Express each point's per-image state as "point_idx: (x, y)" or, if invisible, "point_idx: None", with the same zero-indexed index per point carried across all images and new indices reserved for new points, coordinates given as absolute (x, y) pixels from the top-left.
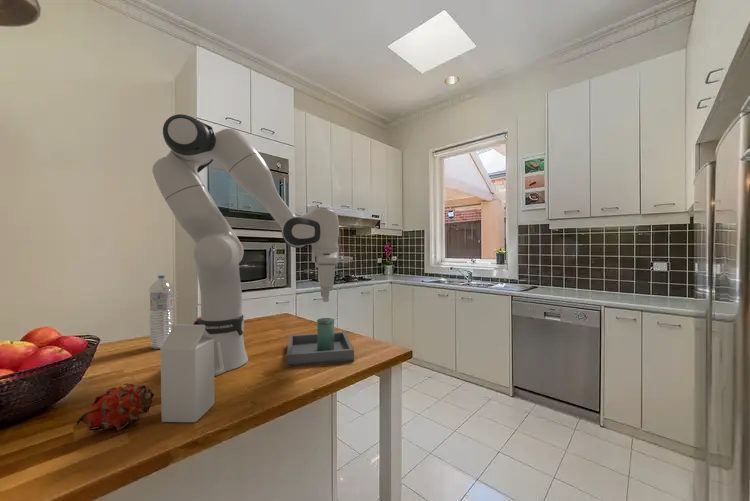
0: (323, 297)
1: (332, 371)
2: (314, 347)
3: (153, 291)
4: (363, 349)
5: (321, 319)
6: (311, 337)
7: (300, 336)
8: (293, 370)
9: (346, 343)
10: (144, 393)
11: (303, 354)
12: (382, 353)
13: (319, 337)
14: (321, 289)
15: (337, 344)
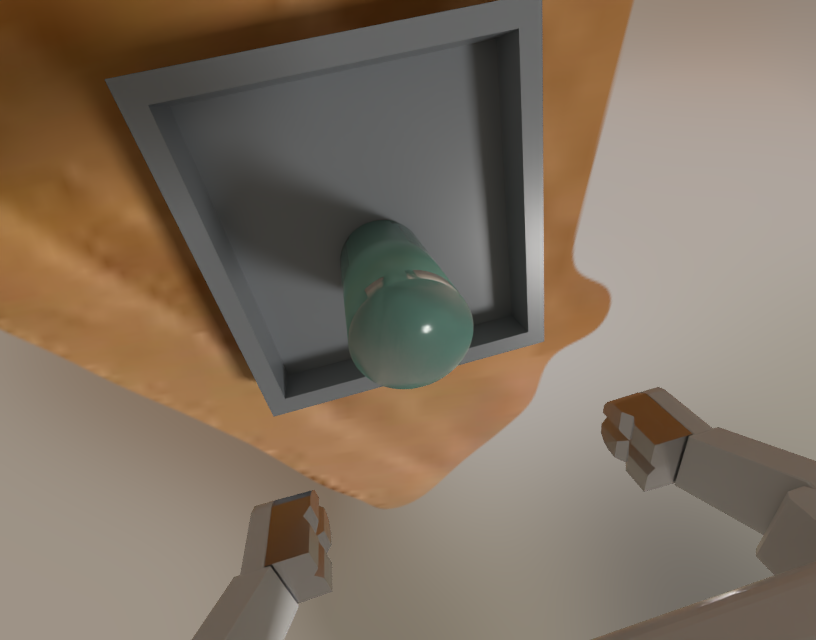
0: (245, 558)
1: (149, 327)
2: (418, 197)
3: None
4: (412, 397)
5: (428, 306)
6: (515, 166)
7: (517, 91)
8: (104, 140)
9: None
10: None
11: (164, 192)
12: (368, 456)
13: (353, 263)
14: (722, 455)
15: None
